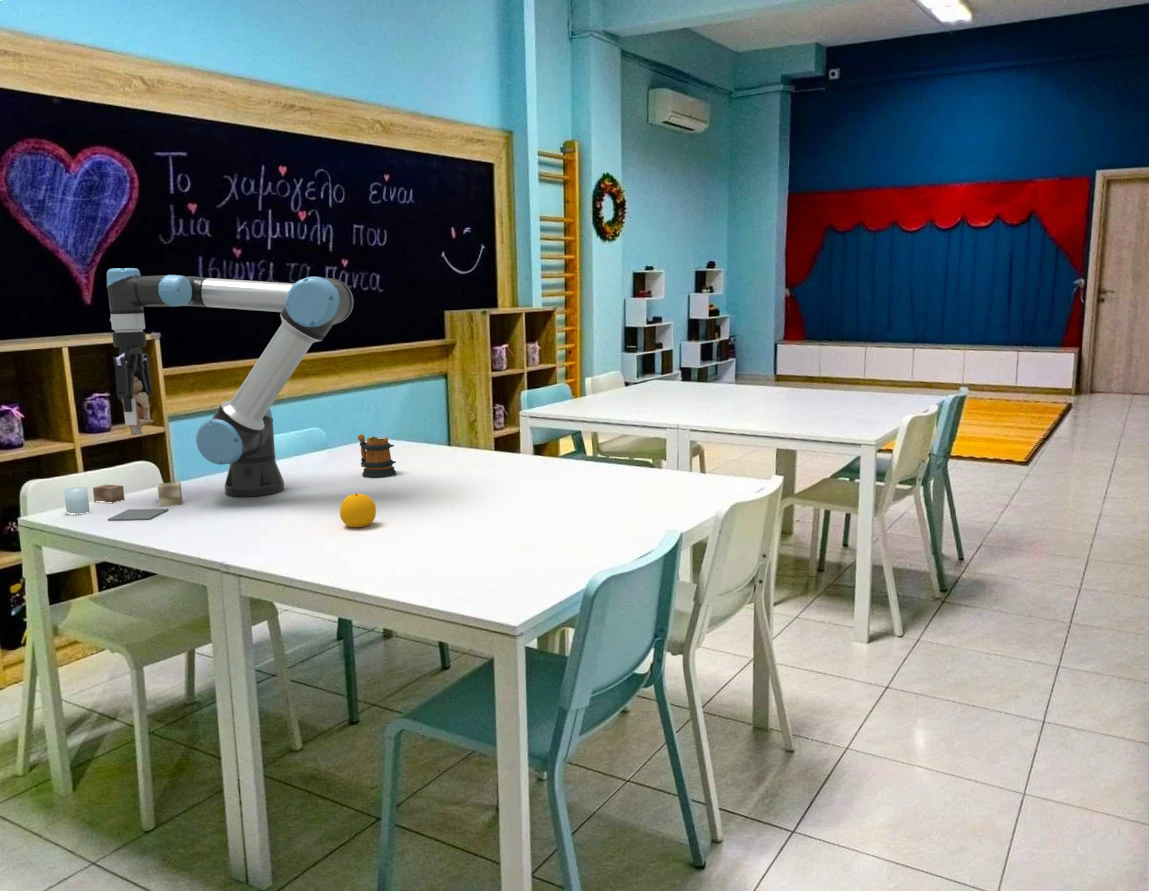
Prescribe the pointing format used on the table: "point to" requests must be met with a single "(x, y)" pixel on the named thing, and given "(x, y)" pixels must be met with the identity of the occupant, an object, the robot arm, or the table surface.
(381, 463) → the mug
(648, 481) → the table surface
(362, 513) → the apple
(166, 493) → the beech block
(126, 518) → the grey mat
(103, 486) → the walnut block
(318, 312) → the robot arm
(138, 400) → the figurine
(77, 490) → the pale blue rounded block
